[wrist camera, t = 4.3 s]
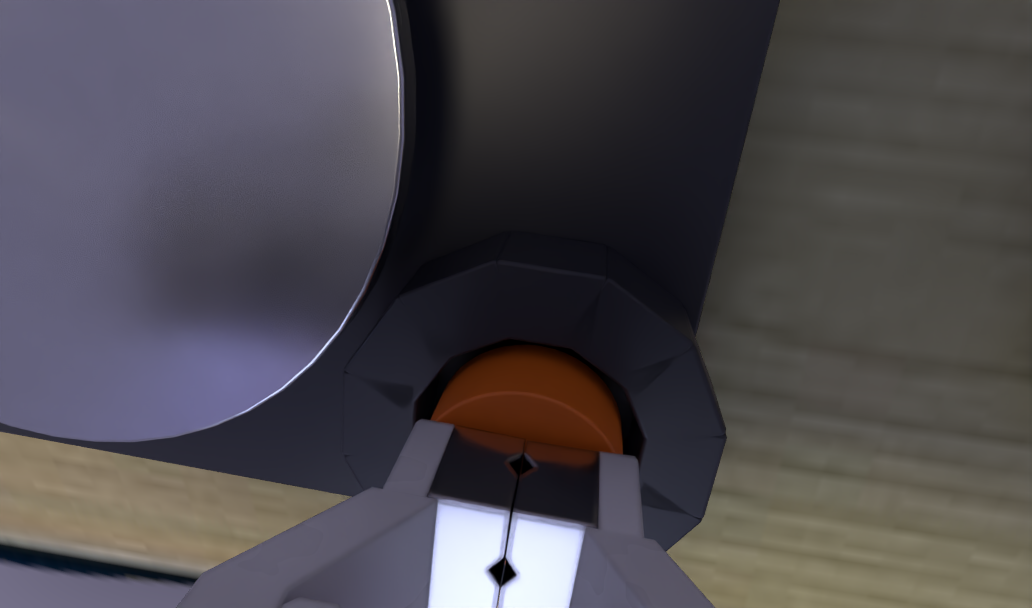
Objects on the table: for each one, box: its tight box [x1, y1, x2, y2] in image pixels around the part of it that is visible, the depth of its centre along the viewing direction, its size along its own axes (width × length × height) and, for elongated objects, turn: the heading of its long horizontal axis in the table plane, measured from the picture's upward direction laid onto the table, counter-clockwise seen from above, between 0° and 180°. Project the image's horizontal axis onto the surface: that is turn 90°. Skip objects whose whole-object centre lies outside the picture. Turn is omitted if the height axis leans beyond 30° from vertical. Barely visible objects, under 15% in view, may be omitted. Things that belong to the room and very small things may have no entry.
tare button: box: [431, 344, 623, 563], centre depth 10 cm, size 3×3×2 cm
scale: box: [0, 0, 780, 574], centre depth 11 cm, size 16×13×3 cm
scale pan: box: [0, 0, 416, 442], centre depth 9 cm, size 11×11×1 cm
